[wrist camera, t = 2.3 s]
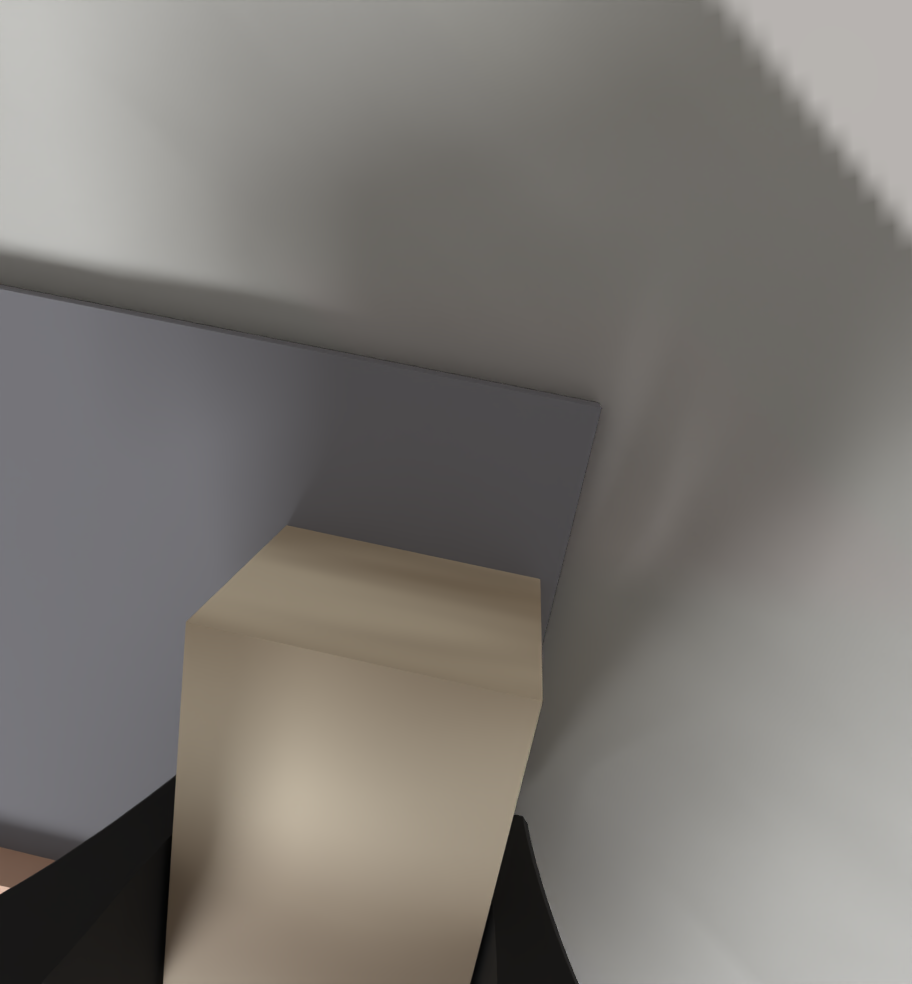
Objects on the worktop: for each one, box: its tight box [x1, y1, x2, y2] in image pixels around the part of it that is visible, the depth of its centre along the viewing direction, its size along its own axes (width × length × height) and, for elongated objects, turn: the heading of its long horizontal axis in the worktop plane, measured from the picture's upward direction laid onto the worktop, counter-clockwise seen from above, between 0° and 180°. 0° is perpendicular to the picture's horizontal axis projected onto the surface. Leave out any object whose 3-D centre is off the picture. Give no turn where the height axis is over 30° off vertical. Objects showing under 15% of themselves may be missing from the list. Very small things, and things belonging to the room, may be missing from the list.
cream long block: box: [163, 525, 543, 984], centre depth 11 cm, size 10×4×4 cm, turn 170°
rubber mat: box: [0, 285, 602, 860], centre depth 15 cm, size 24×20×1 cm
